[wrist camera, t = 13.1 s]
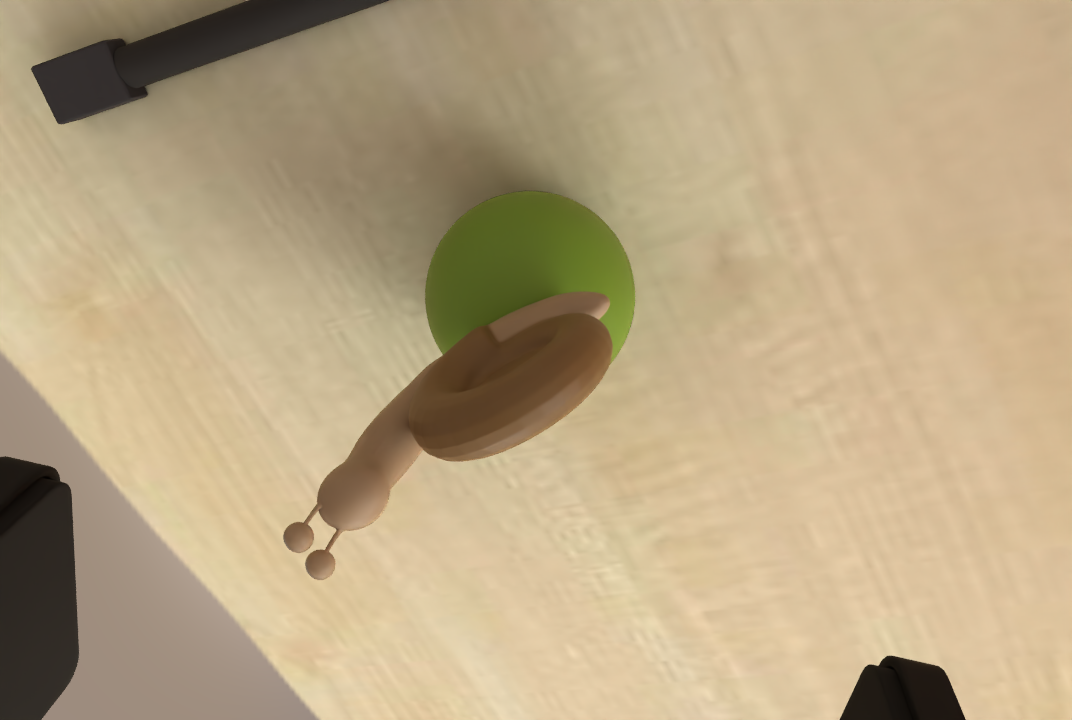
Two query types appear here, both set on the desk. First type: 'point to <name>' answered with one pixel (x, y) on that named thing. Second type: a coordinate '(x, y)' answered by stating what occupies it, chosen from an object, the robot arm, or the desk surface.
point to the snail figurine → (491, 350)
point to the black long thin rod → (173, 53)
